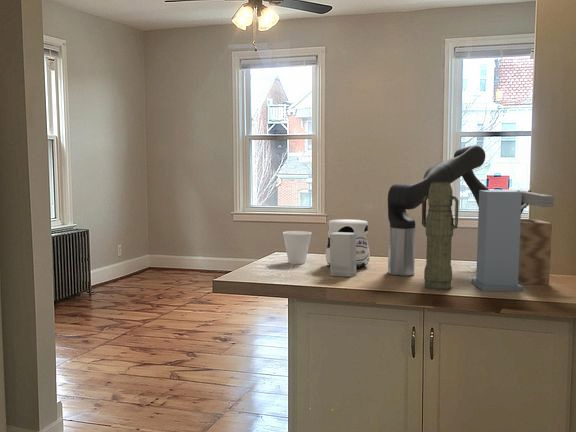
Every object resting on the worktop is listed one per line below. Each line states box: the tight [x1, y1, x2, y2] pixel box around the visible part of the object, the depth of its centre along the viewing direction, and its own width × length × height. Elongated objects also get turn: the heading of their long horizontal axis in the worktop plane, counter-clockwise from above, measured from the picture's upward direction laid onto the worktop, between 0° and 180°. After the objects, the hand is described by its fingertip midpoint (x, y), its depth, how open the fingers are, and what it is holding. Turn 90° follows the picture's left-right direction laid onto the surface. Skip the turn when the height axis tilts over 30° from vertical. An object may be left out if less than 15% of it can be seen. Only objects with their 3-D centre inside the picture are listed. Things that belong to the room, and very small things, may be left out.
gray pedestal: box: [471, 189, 524, 292], centre depth 201 cm, size 13×13×32 cm
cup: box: [282, 230, 313, 265], centre depth 247 cm, size 12×12×12 cm
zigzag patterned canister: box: [518, 218, 553, 285], centre depth 213 cm, size 9×14×21 cm, turn 179°
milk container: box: [325, 218, 371, 269], centre depth 239 cm, size 17×17×18 cm
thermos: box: [421, 182, 460, 291], centre depth 200 cm, size 9×12×35 cm
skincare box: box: [329, 232, 357, 278], centre depth 221 cm, size 8×7×16 cm
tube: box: [519, 190, 555, 208], centre depth 212 cm, size 28×4×4 cm, turn 179°
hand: (524, 192), depth 218 cm, fingers closed on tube, 3 cm apart
